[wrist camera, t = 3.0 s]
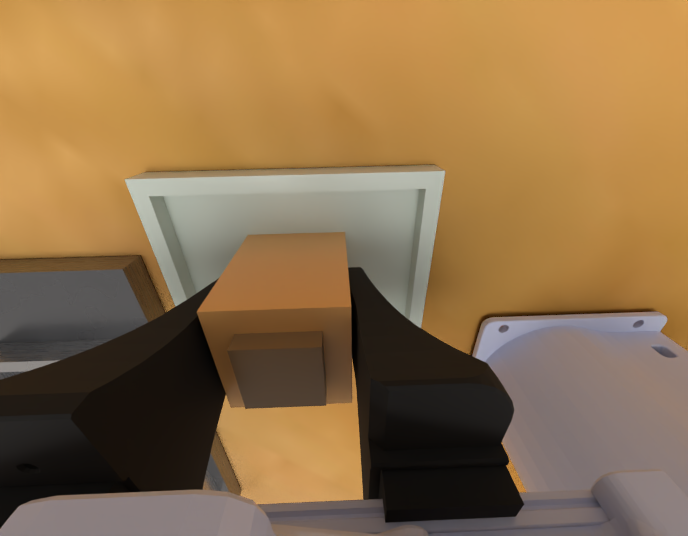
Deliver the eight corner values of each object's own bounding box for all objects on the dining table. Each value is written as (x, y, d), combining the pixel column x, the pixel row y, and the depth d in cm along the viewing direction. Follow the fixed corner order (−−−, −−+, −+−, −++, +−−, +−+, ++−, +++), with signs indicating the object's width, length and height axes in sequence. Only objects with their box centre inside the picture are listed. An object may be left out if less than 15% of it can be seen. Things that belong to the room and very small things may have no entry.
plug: (345, 232, 12) (352, 322, 7) (346, 308, 14) (353, 420, 9) (248, 234, 12) (185, 327, 7) (263, 311, 14) (224, 425, 9)
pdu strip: (-46, 261, 12) (-398, 405, 6) (140, 255, 12) (-37, 392, 6) (144, 494, 23) (79, 626, 17) (241, 490, 23) (210, 620, 18)
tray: (434, 164, 11) (445, 170, 10) (411, 337, 15) (416, 354, 14) (145, 172, 11) (124, 179, 10) (207, 345, 15) (198, 363, 14)
